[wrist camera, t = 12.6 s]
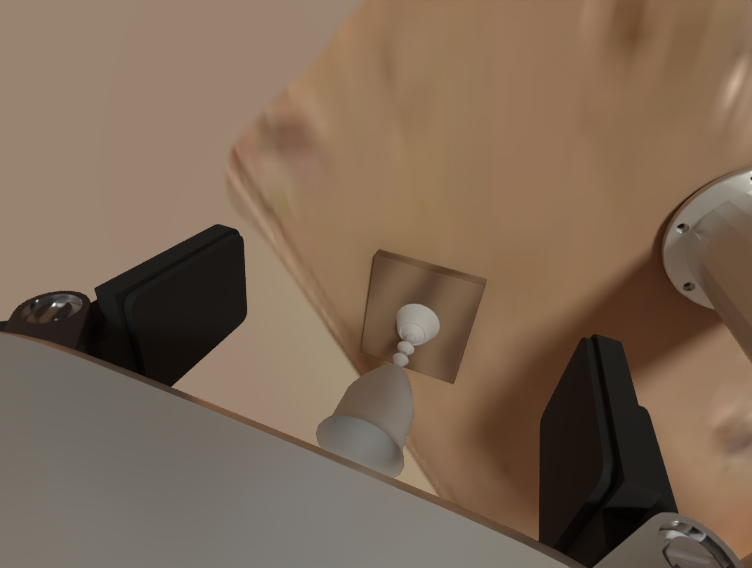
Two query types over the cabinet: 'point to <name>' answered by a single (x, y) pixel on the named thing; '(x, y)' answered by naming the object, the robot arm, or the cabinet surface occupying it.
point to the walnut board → (431, 289)
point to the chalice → (380, 403)
